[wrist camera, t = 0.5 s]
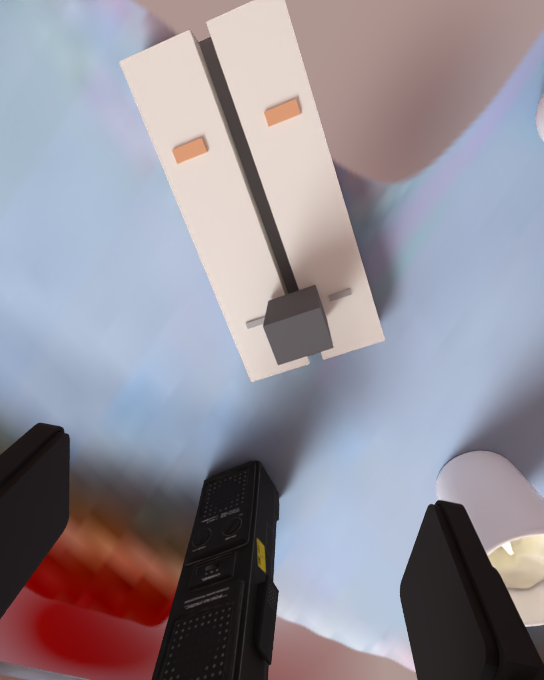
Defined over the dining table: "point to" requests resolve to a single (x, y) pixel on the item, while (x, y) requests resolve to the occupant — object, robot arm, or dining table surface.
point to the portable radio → (226, 584)
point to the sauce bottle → (540, 117)
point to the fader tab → (297, 325)
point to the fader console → (254, 176)
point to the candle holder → (502, 523)
